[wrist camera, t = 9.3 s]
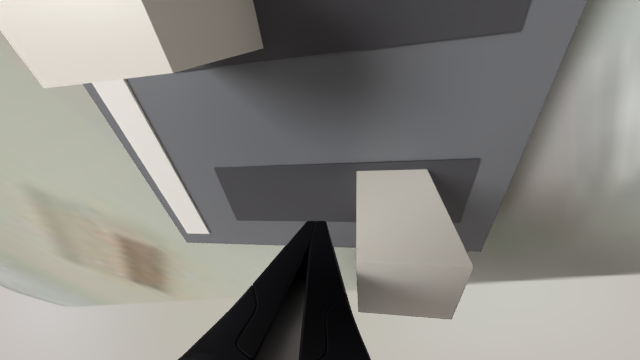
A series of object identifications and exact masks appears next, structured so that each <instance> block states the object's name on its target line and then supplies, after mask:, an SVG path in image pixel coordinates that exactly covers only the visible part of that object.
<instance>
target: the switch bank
mask: <svg viewBox="0 0 640 360" xmlns="http://www.w3.org/2000/svg"><path fill="white" fill-rule="evenodd" d="M253 3H254V7H255V12H256V16H257V21H258V25H259V30H260V34H261V39H262V43H263V49H259V50H256V51H252V52H248V53H245V54H241V55H237V56H234V57H230V58H226V59H223V60H219V61H215V62H212V63H208V64H204V65H201V66H197V67H193V68H190V69H186V70H182V71H179V72H175V73H169V74H161V75H152V76H144V77H136V78H127V79H119V80H111V81H102V82H94V83H86V84H83V85H84V87H85V88H86V90H87V91H88V93H89V94H90V96H91V97H92V99H93V100H94V102H95V103H96V105H97V106H98V108H99V109H100V111H101V112H102V114H103V115H104V117H105V118H106V120H107V122H108V123H109V125H110V126H111V128H112V129H113V131H114V132H115V134H116V135H117V137H118V138H119V140H120V141H121V143H122V144H123V146H124V147H125V149H126V150H127V152H128V153H129V155H130V156H131V158H132V160H133V161H134V163H135V164H136V166H137V167H138V169H139V170H140V172H141V173H142V175H143V176H144V178H145V179H146V181H147V182H148V184H149V185H150V187H151V188H152V190H153V191H154V193H155V195H156V196H157V198H158V199H159V201H160V202H161V204H162V205H163V207H164V208H165V210H166V211H167V213H168V214H169V216H170V217H171V219H172V220H173V222H174V223H175V225H176V226H177V228H178V229H179V231H180V233H181V234H182V236H183V237H184V239H185V240H186V242H192V243H224V244H256V245H287V244H288V243H289V241H290V240H291V239H292V238H293V237H294V236H295V234H296V233H297V232H298V231H299V230H300V229H301V227H302V226H303V225H304V224H305V223H306V222H307V221H326V222H327V226H328V229H329V233H330V236H331V240H332V244H333V247H352V248H356V184H357V171H380V170H416V169H427V170H428V172H429V174H430V176H431V179H432V181H433V183H434V185H435V187H436V189H437V191H438V193H439V195H440V197H441V200H442V202H443V204H444V206H445V208H446V210H447V212H448V214H449V216H450V218H451V220H452V223H453V225H454V227H455V229H456V231H457V233H458V235H459V237H460V239H461V241H462V244H463V246H464V248H465V250H466V251H481V250H482V247H483V245H484V243H485V240H486V238H487V236H488V233H489V231H490V228H491V226H492V224H493V221H494V219H495V217H496V214H497V212H498V210H499V207H500V205H501V203H502V200H503V198H504V196H505V193H506V191H507V188H508V186H509V184H510V181H511V179H512V177H513V174H514V172H515V170H516V167H517V165H518V163H519V160H520V158H521V156H522V153H523V151H524V148H525V146H526V144H527V141H528V139H529V137H530V134H531V132H532V130H533V127H534V125H535V123H536V120H537V118H538V116H539V113H540V111H541V108H542V106H543V104H544V101H545V99H546V97H547V94H548V92H549V90H550V87H551V85H552V83H553V80H554V78H555V76H556V73H557V71H558V68H559V66H560V64H561V61H562V59H563V57H564V54H565V52H566V50H567V47H568V45H569V43H570V40H571V38H572V36H573V33H574V31H575V28H576V26H577V24H578V21H579V19H580V17H581V14H582V12H583V10H584V7H585V5H586V3H587V0H253Z"/></svg>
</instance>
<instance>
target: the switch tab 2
mask: <svg viewBox="0 0 640 360" xmlns="http://www.w3.org/2000/svg"><path fill="white" fill-rule="evenodd" d="M356 269H357V291H358V311H359V312H365V313H378V314H392V315H403V316H415V317H428V318H440V319H452V317H453V315H454V312H455V310H456V308H457V305H458V303H459V301H460V298H461V296H462V293H463V291H464V289H465V286H466V284H467V282H468V279H469V277H470V275H471V272H472V270H473V264H472V262H471V260H470V258H469V256H468V254H467V252H466V250H465V248H464V246H463V244H462V241H461V239H460V237H459V235H458V233H457V231H456V229H455V227H454V225H453V223H452V220H451V218H450V216H449V214H448V212H447V210H446V208H445V206H444V204H443V202H442V200H441V197H440V195H439V193H438V191H437V189H436V187H435V185H434V183H433V181H432V179H431V176H430V174H429V172H428V170H427V169H416V170H380V171H357V184H356Z"/></svg>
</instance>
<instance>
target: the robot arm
mask: <svg viewBox="0 0 640 360" xmlns="http://www.w3.org/2000/svg"><path fill="white" fill-rule="evenodd" d="M298 359H299V360H371V359H370V357H369V354H368V352H367V349H366V347H365V345H364V342H363V340H362V338H361V335H360V333H359V330H358V327H357V325H356V322H355V320H354V317H353V314H352V311H351V308H350V305H349V301H348V297H347V294H346V291H345V287H344V283H343V280H342V276H341V272H340V269H339V265H338V262H337V258H336V254H335V251H334V247H333V244H332V240H331V236H330V233H329V229H328V226H327V222H326V221H307V222H306V223H305V224H304V225H303V226H302V227H301V229H300V230H299V231H298V232H297V233H296V234H295V236H294V237H293V238H292V239H291V240H290V241H289V243H288V244H287V245H286V246H285V247H284V248H283V250H282V251H281V252H280V253H279V254H278V255H277V256H276V258H275V259H274V260H273V261H272V262H271V263H270V265H269V266H268V267H267V268H266V269H265V270H264V272H263V273H262V274H261V275H260V276H259V277H258V279H257V280H256V281H255V282H254V283H253V286H251V287H250V288H249V289H248V290H247V291H246V292H245V293H244V295H243V296H242V297H241V298H240V299H239V300H238V301H237V302H236V303H235V305H234V306H233V307H232V308H231V309H230V310H229V311H228V312H227V313H226V314H225V315H224V316H223V317H222V318H221V319H220V320H219V321H218V322H217V323H216V324H215V325H214V326H213V327H212V328H211V329H210V330H209V331H208V332H207V333H206V334H205V335H203V336H202V338H200V339H199V340H198V341H197V342H196V343H195V344H194V345H193V346H192V347H191V348H190V349H189V350H188V351H187V352H186V353H185V354H184V355H183V356H182V357H180V358H179V359H178V360H298Z"/></svg>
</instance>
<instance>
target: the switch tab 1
mask: <svg viewBox="0 0 640 360" xmlns="http://www.w3.org/2000/svg"><path fill="white" fill-rule="evenodd" d="M0 31H1V32H2V34H3V35H4V36H5V38H6V39H7V40H8V42H9V43H10V44H11V46H12V47H13V48H14V49H15V51H16V52H17V53H18V55H19V56H20V57H21V59H22V60H23V61H24V63H25V64H26V65H27V67H28V68H29V69H30V71H31V72H32V73H33V75H34V76H35V77H36V79H37V80H38V81H39V83H40V84H41V85H42V87H43V88H52V87H61V86H69V85H77V84H86V83H94V82H102V81H111V80H119V79H127V78H136V77H144V76H152V75H161V74H169V73H175V72H179V71H182V70H186V69H190V68H193V67H197V66H201V65H204V64H208V63H212V62H215V61H219V60H223V59H226V58H230V57H234V56H237V55H241V54H245V53H248V52H252V51H256V50H259V49H263V43H262V39H261V34H260V30H259V25H258V21H257V16H256V12H255V7H254V3H253V0H0Z"/></svg>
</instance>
